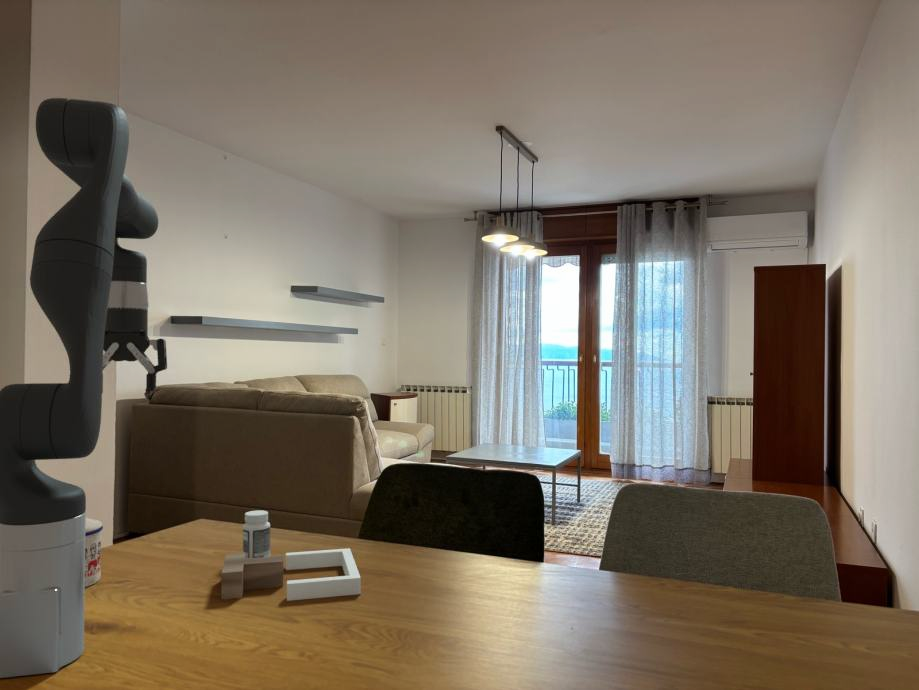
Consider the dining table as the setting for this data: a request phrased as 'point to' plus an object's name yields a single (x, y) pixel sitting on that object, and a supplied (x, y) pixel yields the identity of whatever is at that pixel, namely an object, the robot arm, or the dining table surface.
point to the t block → (249, 574)
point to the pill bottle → (256, 534)
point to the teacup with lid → (92, 551)
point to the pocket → (323, 586)
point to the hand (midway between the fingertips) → (124, 394)
